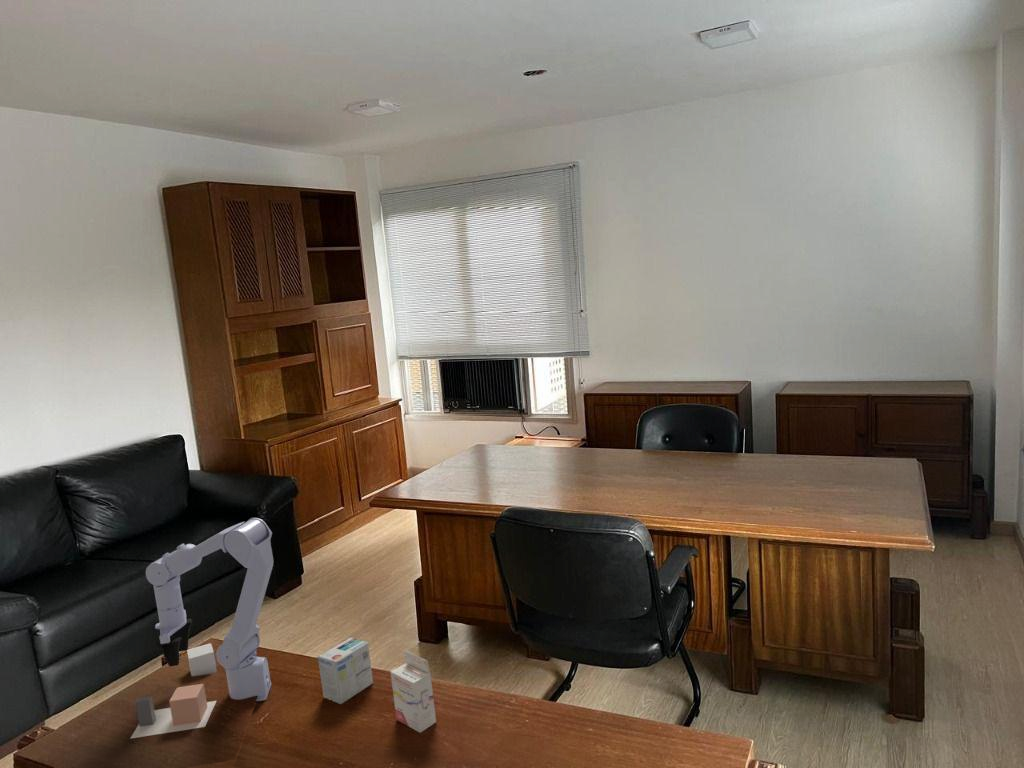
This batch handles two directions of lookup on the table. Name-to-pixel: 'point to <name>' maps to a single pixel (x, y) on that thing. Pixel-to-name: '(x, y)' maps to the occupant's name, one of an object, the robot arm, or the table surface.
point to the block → (188, 704)
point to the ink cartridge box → (413, 693)
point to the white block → (202, 660)
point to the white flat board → (162, 719)
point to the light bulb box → (345, 670)
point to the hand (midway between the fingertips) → (178, 657)
